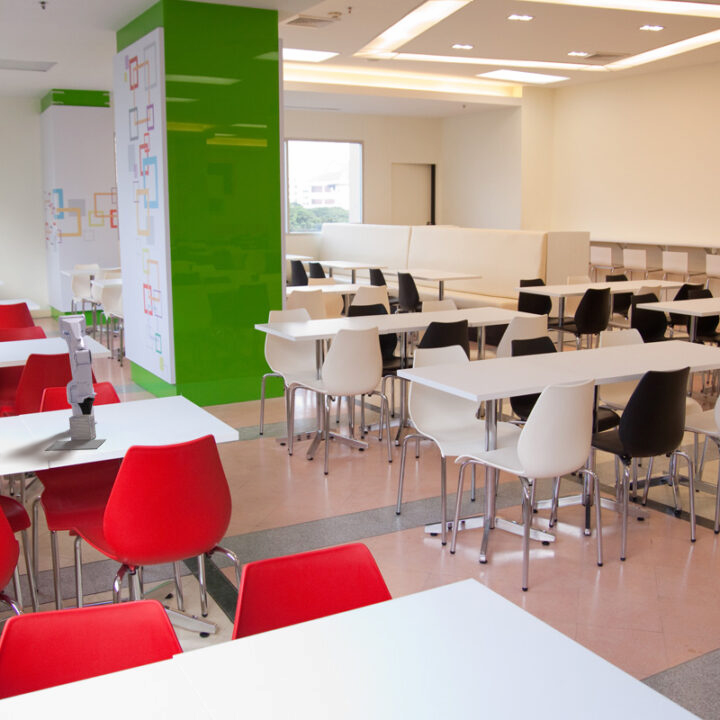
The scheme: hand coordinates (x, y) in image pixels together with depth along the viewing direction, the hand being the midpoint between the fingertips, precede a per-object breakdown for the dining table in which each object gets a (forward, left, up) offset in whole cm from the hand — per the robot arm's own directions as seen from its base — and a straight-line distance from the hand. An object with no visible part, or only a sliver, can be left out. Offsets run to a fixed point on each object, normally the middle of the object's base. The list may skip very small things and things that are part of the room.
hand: (87, 417), depth 311 cm
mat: (+15, 0, -6) cm, 17 cm away
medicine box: (+6, 0, -7) cm, 9 cm away
